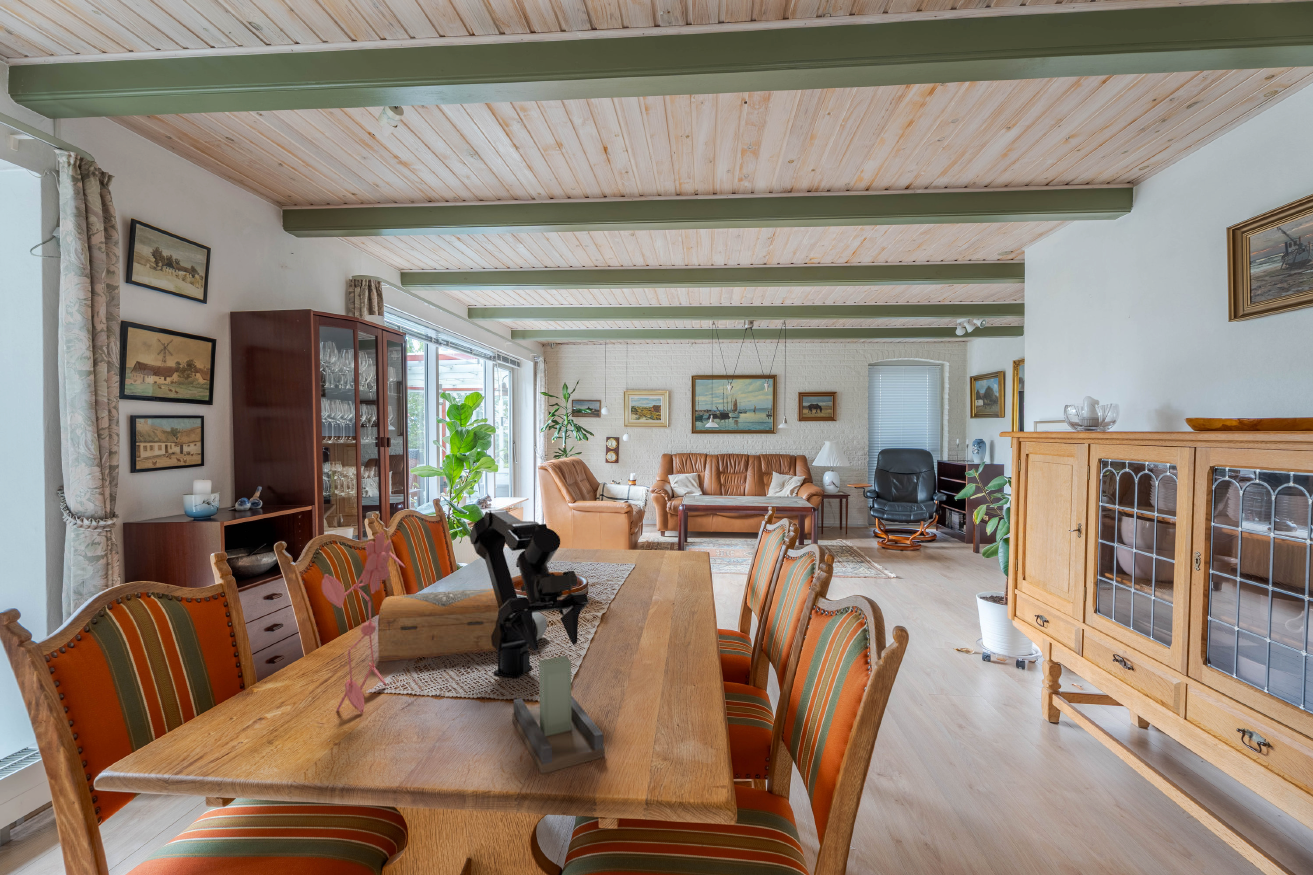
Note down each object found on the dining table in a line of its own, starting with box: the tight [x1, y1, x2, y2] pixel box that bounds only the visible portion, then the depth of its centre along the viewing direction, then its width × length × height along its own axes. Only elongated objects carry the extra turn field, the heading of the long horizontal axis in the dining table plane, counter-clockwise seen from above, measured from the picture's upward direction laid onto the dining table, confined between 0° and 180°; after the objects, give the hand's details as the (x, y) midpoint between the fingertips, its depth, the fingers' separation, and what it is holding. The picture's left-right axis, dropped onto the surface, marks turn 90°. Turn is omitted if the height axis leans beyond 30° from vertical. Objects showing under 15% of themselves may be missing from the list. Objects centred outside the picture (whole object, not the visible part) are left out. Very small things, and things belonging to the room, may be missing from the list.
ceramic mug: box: [528, 612, 548, 647], centre depth 157 cm, size 11×8×8 cm
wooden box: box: [377, 588, 499, 662], centre depth 155 cm, size 30×16×14 cm, turn 103°
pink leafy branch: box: [315, 530, 424, 725], centre depth 123 cm, size 15×26×35 cm, turn 0°
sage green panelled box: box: [538, 655, 572, 736], centre depth 107 cm, size 3×5×12 cm, turn 117°
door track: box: [511, 694, 606, 775], centre depth 108 cm, size 20×11×4 cm, turn 27°
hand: (556, 646), depth 117 cm, fingers open, 9 cm apart
